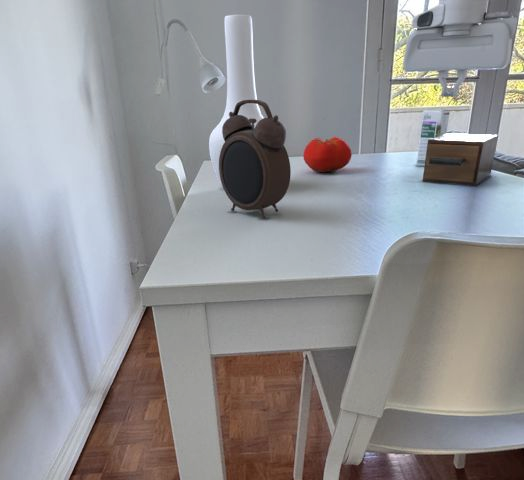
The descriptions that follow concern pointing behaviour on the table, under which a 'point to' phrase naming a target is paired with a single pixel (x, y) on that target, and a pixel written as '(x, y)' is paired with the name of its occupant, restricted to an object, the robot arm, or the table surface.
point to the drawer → (451, 162)
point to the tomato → (327, 154)
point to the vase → (236, 79)
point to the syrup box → (431, 130)
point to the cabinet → (484, 157)
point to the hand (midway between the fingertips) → (449, 96)
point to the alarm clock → (254, 160)
